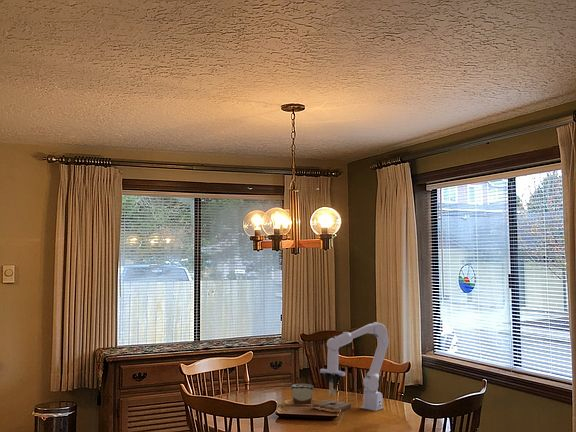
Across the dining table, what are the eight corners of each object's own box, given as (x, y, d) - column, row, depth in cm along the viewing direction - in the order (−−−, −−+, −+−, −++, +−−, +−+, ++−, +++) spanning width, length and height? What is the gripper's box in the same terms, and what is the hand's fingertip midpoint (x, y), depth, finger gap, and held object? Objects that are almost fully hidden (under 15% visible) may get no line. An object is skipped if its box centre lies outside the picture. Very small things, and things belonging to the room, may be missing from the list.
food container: (314, 403, 321) (314, 384, 322) (313, 405, 315) (314, 386, 316) (291, 402, 323) (291, 383, 324) (290, 404, 316) (290, 385, 317)
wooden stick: (335, 395, 310) (335, 380, 311) (333, 396, 308) (333, 380, 309) (331, 395, 312) (331, 379, 312) (328, 395, 310) (329, 380, 310)
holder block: (350, 408, 310) (350, 403, 310) (335, 413, 299) (335, 408, 299) (328, 404, 318) (328, 399, 319) (312, 408, 307) (312, 403, 308)
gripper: (317, 361, 313) (316, 387, 312) (340, 364, 304) (339, 391, 303) (324, 359, 318) (324, 385, 317) (347, 362, 309) (347, 389, 308)
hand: (332, 388), depth 310 cm, fingers closed on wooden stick, 2 cm apart
